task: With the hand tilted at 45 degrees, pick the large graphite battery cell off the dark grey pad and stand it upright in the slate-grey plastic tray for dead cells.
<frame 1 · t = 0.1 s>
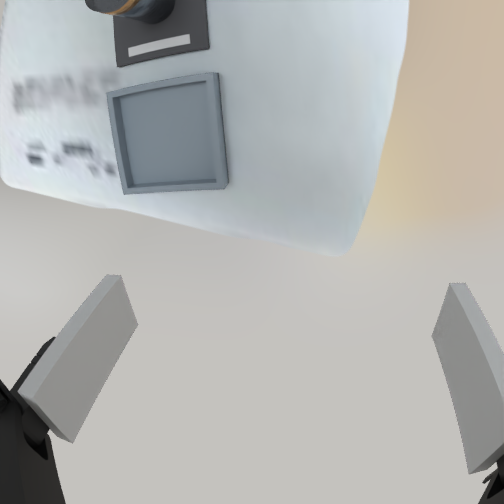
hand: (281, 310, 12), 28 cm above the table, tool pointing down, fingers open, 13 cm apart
battery cell: (155, 5, 28), point 1 cm above the table, touching dark grey pad
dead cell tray: (169, 133, 37), on the table
dark grey pad: (157, 6, 28), on the table
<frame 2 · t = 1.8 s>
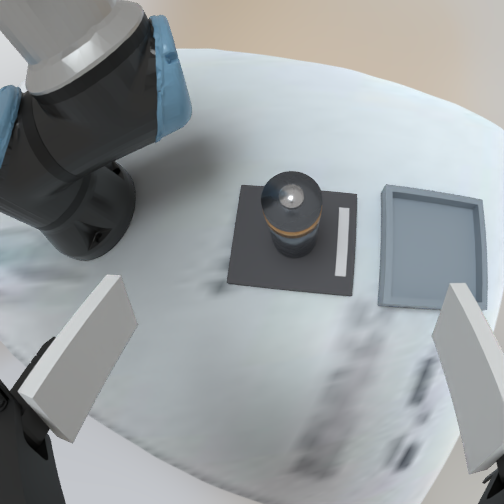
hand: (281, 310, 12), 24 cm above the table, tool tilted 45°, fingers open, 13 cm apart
battery cell: (294, 236, 36), point 1 cm above the table, touching dark grey pad
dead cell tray: (432, 252, 34), on the table
dark grey pad: (294, 238, 37), on the table
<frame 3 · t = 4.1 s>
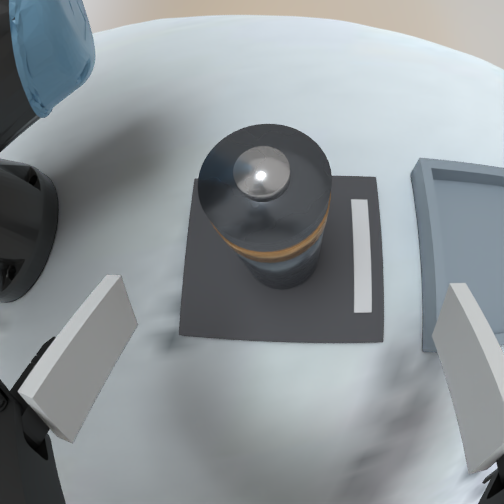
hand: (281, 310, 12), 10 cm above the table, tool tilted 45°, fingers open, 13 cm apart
battery cell: (282, 253, 22), point 1 cm above the table, touching dark grey pad
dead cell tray: (492, 257, 20), on the table
dark grey pad: (283, 255, 23), on the table
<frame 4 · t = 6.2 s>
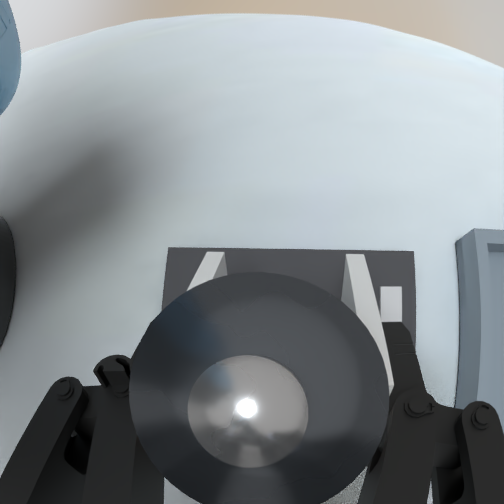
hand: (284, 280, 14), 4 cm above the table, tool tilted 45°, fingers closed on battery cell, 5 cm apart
battery cell: (284, 362, 16), point 1 cm above the table, touching dark grey pad, gripper
dark grey pad: (285, 361, 16), on the table
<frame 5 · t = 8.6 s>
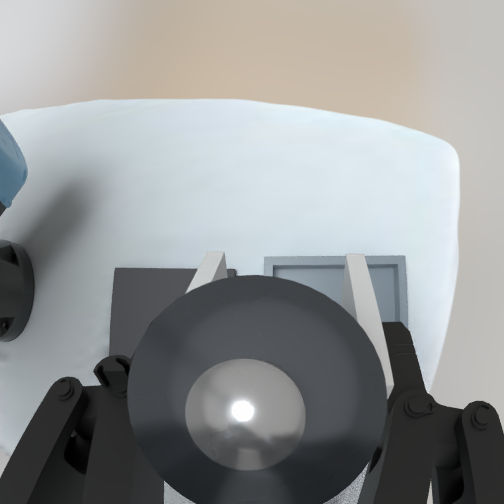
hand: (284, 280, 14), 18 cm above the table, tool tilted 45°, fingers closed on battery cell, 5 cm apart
battery cell: (283, 363, 16), point 15 cm above the table, touching gripper
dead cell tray: (334, 330, 30), on the table
dark grey pad: (168, 325, 32), on the table
when the fingers open (6 cm above the table, at t = 11.4 s): battery cell drops 2 cm, resting on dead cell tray.
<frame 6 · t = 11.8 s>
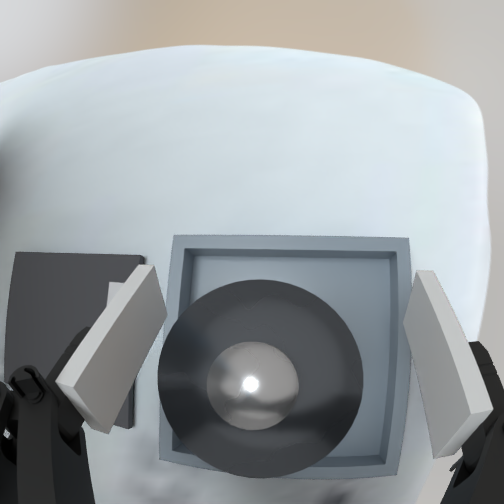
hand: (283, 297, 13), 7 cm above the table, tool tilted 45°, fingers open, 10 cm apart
battery cell: (285, 361, 17), point 1 cm above the table, touching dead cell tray
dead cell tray: (287, 358, 18), on the table
dark grey pad: (61, 330, 21), on the table
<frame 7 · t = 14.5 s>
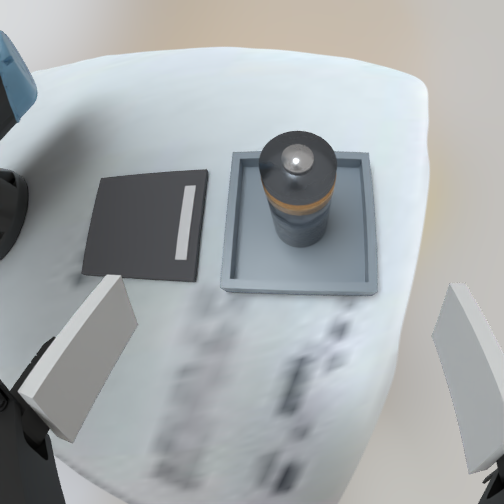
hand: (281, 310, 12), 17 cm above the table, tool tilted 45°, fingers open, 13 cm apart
battery cell: (300, 222, 30), point 1 cm above the table, touching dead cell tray
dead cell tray: (301, 224, 31), on the table
dark grey pad: (141, 224, 34), on the table
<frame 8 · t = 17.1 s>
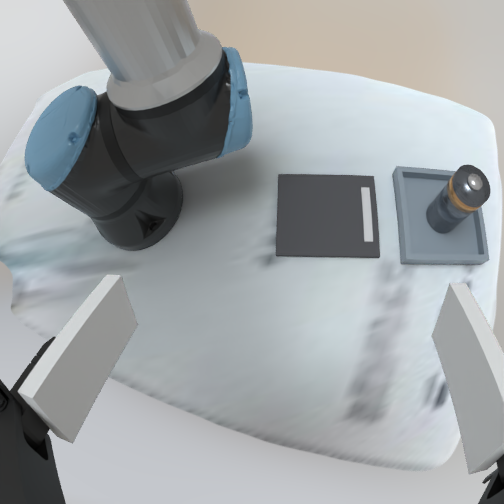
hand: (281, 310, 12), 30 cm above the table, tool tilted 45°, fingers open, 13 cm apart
battery cell: (441, 217, 40), point 1 cm above the table, touching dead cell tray
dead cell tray: (439, 218, 41), on the table
dark grey pad: (327, 214, 44), on the table
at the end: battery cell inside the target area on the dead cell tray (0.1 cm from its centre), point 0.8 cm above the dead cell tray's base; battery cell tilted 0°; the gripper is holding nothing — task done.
